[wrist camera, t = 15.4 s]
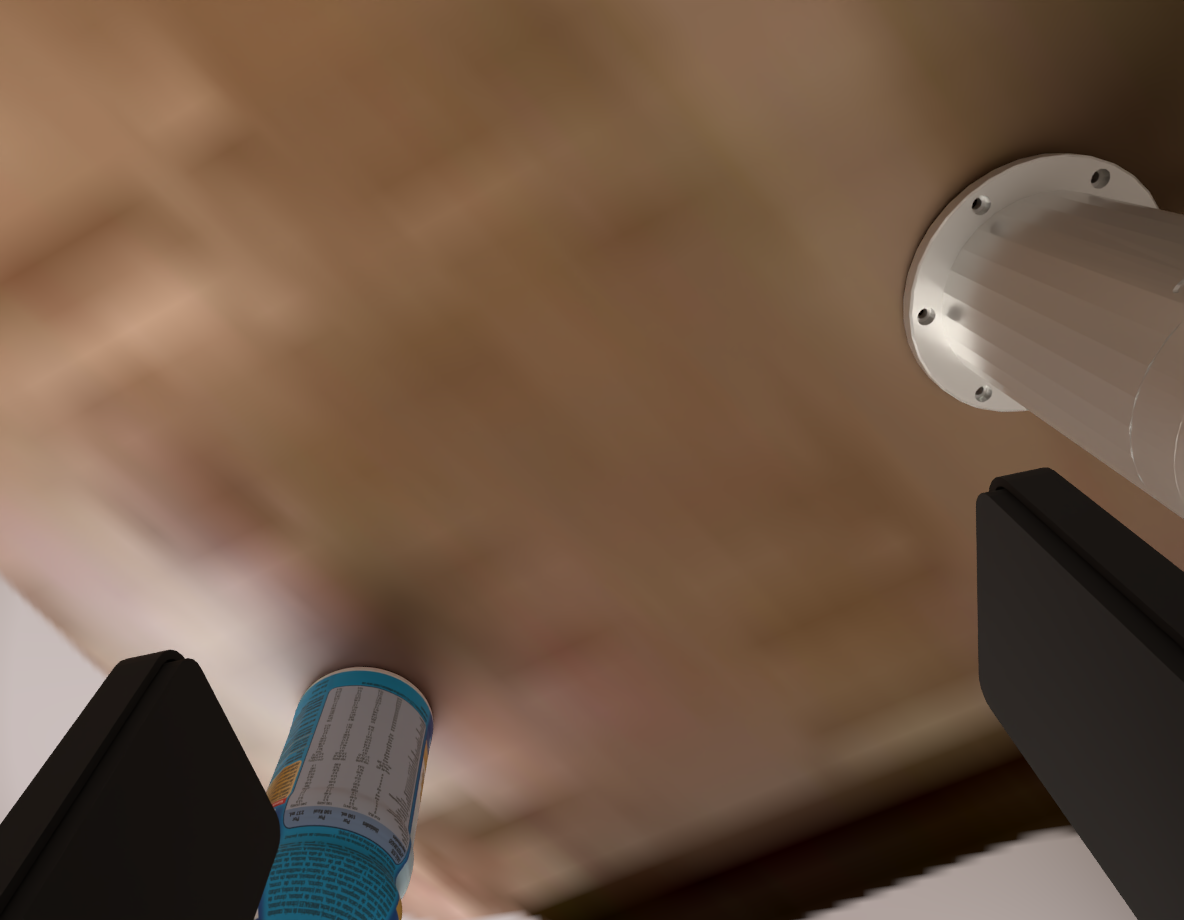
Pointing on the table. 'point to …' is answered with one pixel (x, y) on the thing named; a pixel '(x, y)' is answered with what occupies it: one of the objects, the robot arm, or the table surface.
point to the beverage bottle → (348, 799)
